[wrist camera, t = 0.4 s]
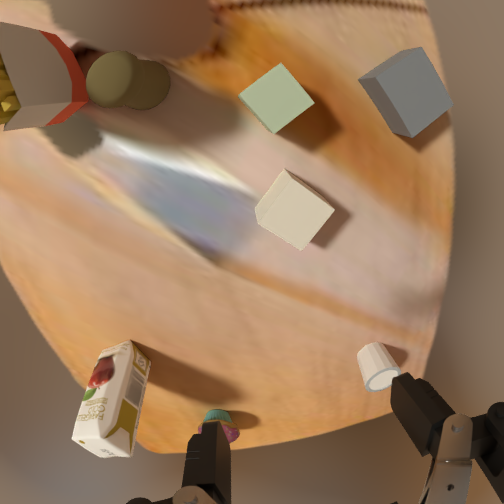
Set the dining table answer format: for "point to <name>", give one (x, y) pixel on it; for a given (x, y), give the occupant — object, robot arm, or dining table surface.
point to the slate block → (407, 92)
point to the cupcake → (222, 423)
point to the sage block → (276, 98)
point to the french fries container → (37, 78)
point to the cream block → (292, 210)
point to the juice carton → (113, 402)
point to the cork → (127, 81)
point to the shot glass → (377, 367)
